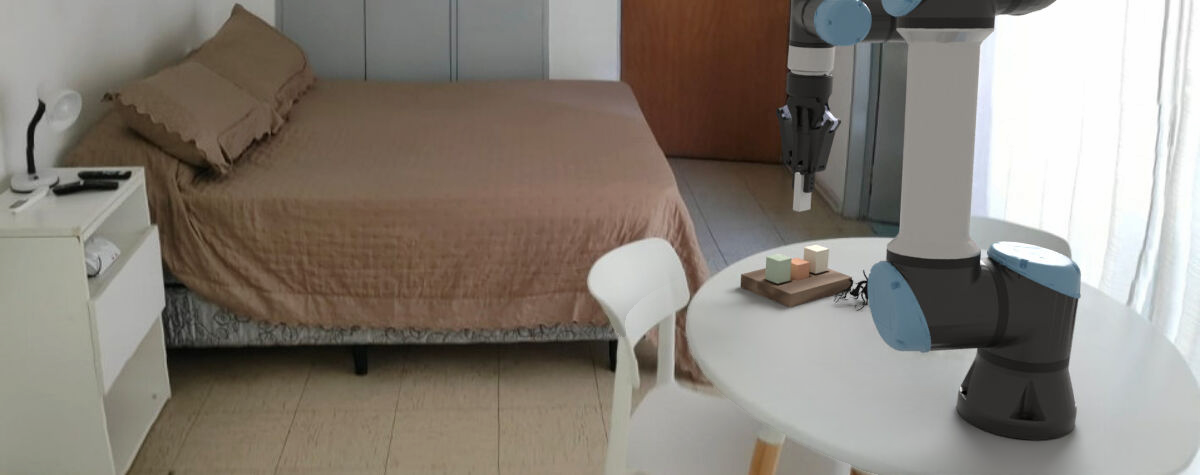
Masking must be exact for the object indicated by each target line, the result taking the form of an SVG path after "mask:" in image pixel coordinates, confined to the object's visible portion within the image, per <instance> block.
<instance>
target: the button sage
mask: <svg viewBox="0 0 1200 475" xmlns="http://www.w3.org/2000/svg"><path fill="white" fill-rule="evenodd" d="M792 259H793V258H792V257H789V256H787V255H784V254H781V253H776V254H771V255H767V256H766V258H765V260H766V261H765V263H766V264H765V268H766V273H765V279H767V280H769V281H772V282H775V283H777V284H778V283H782V282H786V281H790V275H791V260H792Z"/></svg>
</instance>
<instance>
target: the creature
mask: <svg viewBox="0 0 1200 475" xmlns="http://www.w3.org/2000/svg"><path fill="white" fill-rule="evenodd" d="M862 273H863V276H864V277H865V279H863V280H861V281H858V282H854V280H853V278H852V279H851V278H850V277H851V276H850V277H849V278H850V279H848V280H849V281H850V282H851V285H850V286H849V287H848V288H846V289H844V290H842V291H843V292H842V291H840V292H842V293H839V292H838V293H839V294H838V293H837V294H836V295H834V297H835V298H834V300H833V302H835V304H837V303H838V301H839V300H846V301H849V299H848V298H847V295H848V293H849V295H850V296H851V299H852V298H853V299H855V300H857V299H859V297H861V299H862V301H863V304H862V305H857V304H855V307H854V309H856V308H857V306H860V308H858V309H856V310H855V311H860V310H862V309H863V308H865V306H867V305H868V304H869V300H868V276H867V274H866V272H865V269H863V270H862ZM854 284H855V285H856V287H855V288H853V287H854V286H853V285H854ZM850 288H851V290H850ZM860 289H861V290H860ZM845 291H846V292H845ZM837 297H838V299H837ZM846 298H847V299H846ZM861 306H862V307H861Z"/></svg>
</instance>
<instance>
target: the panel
mask: <svg viewBox="0 0 1200 475" xmlns="http://www.w3.org/2000/svg"><path fill="white" fill-rule="evenodd" d="M765 273H766V267H765V268H760V269H757V270H753V271H752V270H751V271H748V272H745V273H741V274H740V288H741V289H743V290H745V291H749V292H751V293H752V294H753V293H754V294H755V295H758V296H761V297H762V298H766V299H768V300H771V301H773V302H775V303H778V304H781V305H783V306H784V307H785V306H786V307H788V308H793V307H797V306H800V305H803V304H807V303H811V302H814V301H818V300H821V299H825V298H828V297H831V296H835V295H836V294H837V293H838V292H839V293H838V294H837V295H840V294H842V292H843V291H842V290H844V289H846V288H848V287H849V286H850V285H851V282H850V281H849V280H848V279H850V278H851V279H852V280H853V276H850V275H847V274H844V273H841V272H839V271H836V270H833V269H831V268H828V269H827V271H824V272H820V273H816V274H815V273H812V272H809V278H805V279H802V280H798V281H796V280H793V279H791V278H790V281H786V282H782V283H778V284H777V283H775V282H772V281H769V280H767V279H765ZM849 277H850V278H849ZM850 290H851V291H852V287H851V288H850ZM840 291H842V292H840ZM844 293H846V291H845V292H844ZM837 295H836V296H837Z"/></svg>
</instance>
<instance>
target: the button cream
mask: <svg viewBox="0 0 1200 475" xmlns="http://www.w3.org/2000/svg"><path fill="white" fill-rule="evenodd" d="M829 254H830V248H828V247H825V246H821V245H819V244H814V245H808V246H804V250H803V260H805V261H808V262H810V268H809V272H812V273H815V274H816V273H820V272H824V271H827V269H829V268H828V266H829Z"/></svg>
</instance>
